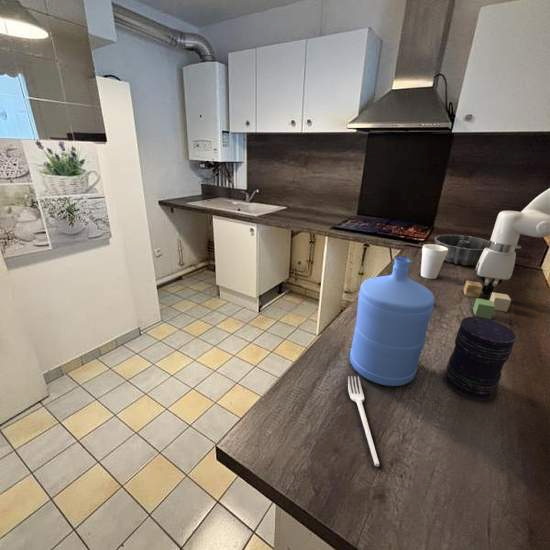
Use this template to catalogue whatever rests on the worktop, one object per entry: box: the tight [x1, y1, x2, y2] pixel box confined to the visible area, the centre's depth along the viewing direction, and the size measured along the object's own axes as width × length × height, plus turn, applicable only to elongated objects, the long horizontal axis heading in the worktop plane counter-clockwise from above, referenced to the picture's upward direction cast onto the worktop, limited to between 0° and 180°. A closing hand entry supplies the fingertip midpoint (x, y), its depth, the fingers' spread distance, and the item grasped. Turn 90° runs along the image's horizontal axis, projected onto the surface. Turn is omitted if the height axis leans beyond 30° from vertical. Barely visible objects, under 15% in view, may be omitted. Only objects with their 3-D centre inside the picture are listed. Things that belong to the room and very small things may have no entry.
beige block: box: [489, 291, 512, 313], centre depth 100 cm, size 4×4×4 cm
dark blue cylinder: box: [444, 316, 517, 401], centre depth 64 cm, size 10×10×15 cm
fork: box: [347, 375, 380, 468], centre depth 58 cm, size 3×20×2 cm, turn 178°
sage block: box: [472, 297, 496, 320], centre depth 96 cm, size 4×4×4 cm
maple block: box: [462, 280, 483, 299], centre depth 110 cm, size 4×4×4 cm
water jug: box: [349, 256, 435, 387], centre depth 67 cm, size 16×16×28 cm
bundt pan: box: [434, 234, 490, 267], centre depth 145 cm, size 26×26×10 cm
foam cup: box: [420, 243, 448, 280], centre depth 124 cm, size 10×9×13 cm
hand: (486, 294), depth 108 cm, fingers closed
